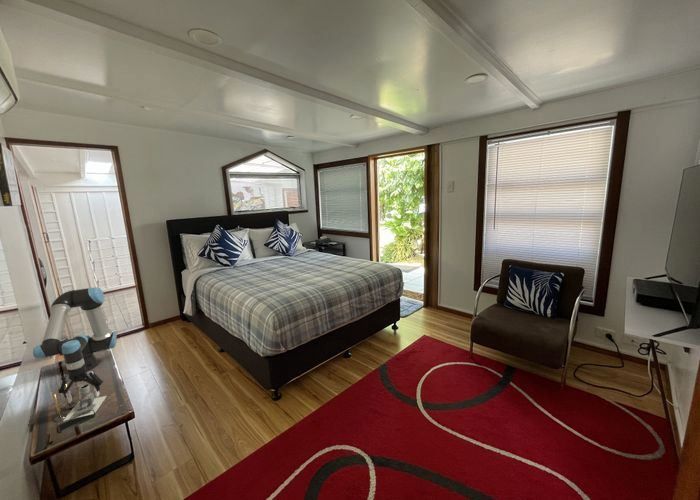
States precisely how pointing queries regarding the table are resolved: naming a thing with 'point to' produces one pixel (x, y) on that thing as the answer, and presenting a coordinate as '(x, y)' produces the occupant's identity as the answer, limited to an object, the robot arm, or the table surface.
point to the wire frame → (59, 417)
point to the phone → (74, 422)
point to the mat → (97, 401)
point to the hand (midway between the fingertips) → (84, 398)
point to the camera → (85, 399)
